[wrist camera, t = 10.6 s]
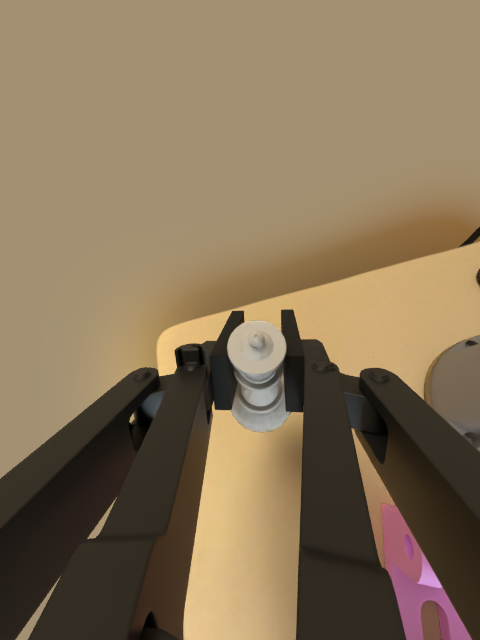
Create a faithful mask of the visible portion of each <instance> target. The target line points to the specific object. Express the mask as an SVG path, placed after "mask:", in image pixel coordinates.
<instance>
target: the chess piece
mask: <svg viewBox="0 0 480 640" xmlns="http://www.w3.org/2000/svg"><path fill="white" fill-rule="evenodd" d="M227 350H228V356H229V359H230V361H231V363H232V364H233V370H234V375H235V377H236V379H237V381H238V385H237V389H236V393H235V397H234V401H233V406H232V410H231V412H232V415H233V416H234V417H235V419H236V420H237V421H238V423H240V424H241V425H242V426H243V427H245V428H247V429H249V430H251V431H255V432H267V431H272V430H274V429H276V428H278V427H280V426H281V425H282V424H283V423H284V422H285V421H286V420H287V418H288V416H289V415H290V413H291V412H286V408H285V392H284V377H283V361H284V358H285V355H286V341H285V338H284V336H283V334H282V332H281V331H280V330H279V329H278V328H277V327H276V326H275V325H273V324H271V323H269V322H266V321H263V320H252V321H247V322H245V323H243V324H241V325H239V326H238V327H237V328H235V330H234V331H233V332H232V333H231V335H230V338H229V340H228V345H227Z"/></svg>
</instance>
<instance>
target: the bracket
mask: <svg viewBox="0 0 480 640" xmlns="http://www.w3.org/2000/svg"><path fill="white" fill-rule="evenodd" d="M381 505H382V520H383V536H384V552H385V568H386V570H387V571H388V573H389V575H390V577H391V580H392V583H393V587H394V590H395V594H396V597H397V602H398V606H399V610H400V614H401V618H402V623H403V627H404V631H405V635H406V640H423V630H422V620H421V607H422V605H423V603H424V602H426V601H429V600H431V601H435V603H436V605H437V608H438V614H439V622H440V630H441V638H442V640H472V639H471V637H470V635H469V633H468V632H467V630H466V628H465V626H464V625H463V623H462V621H461V619H460V617H459V616H458V614H457V612H456V610H455V609H454V607H453V605H452V603H451V602H450V600H449V598H448V596H447V594H446V593H445V591H444V589H443V587H442V586H441V584H440V582H439V580H438V579H437V577H436V575H435V573H434V572H433V570H432V568H431V566H430V564H429V563H428V561H427V559H426V557H425V556H424V554H423V552H422V550H421V549H420V547H419V545H418V543H417V542H416V540H415V538H414V536H413V534H412V533H411V531H410V529H409V527H408V526H407V524H406V522H405V520H404V519H403V517H402V515H401V513H400V511H399V510H398V508H397V506H393V505H388V504H383V503H381Z"/></svg>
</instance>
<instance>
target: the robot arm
mask: <svg viewBox="0 0 480 640" xmlns="http://www.w3.org/2000/svg"><path fill="white" fill-rule="evenodd" d="M479 237H480V227H479V228H478V229H477V230H476V231H475V232H474V233H473V234H472V235H471V236H470V237H469V238H468V239H467V240H466V241H465V242H464V243H462V244H461V245H460V246H459V247H458V248H460V247H464V246H467V245H470V244H472V243H473V242H474V241H476V240H477V239H478V238H479ZM477 277H478V280H479V281H480V269H479V271H478V273H477ZM243 323H244V311H232V313H231V315H230V317H229V318H228V320H227V322H226V324H225V326H224V328H223V330H222V332H221V334H220V336H219V338H218V340H217V341H206V342H204V343H203V344H186V345H183V346H180V347H178V348H177V349H176V350H175V357H176V363H177V369H176V371H175V373H174V374H171V375H166V376H159V373H158V370H157V369H155V368H147V367H145V368H140V369H138V370H136V371H133V372H131V373H130V374H128V375H127V376H126V377H125V378H123V379H122V380H121V381H120V382H119V383H117V384H116V385H115V386H114V387H112V388H111V389H110V390H109V391H107V392H106V393H105V394H104V395H103V396H101V397H100V398H99V399H98V400H96V401H95V402H94V403H93V404H92V405H90V406H89V407H88V408H87V409H85V410H84V411H83V412H82V413H81V414H80V415H78V416H77V417H76V418H74V419H73V420H72V421H71V422H69V423H68V424H67V425H66V426H65V427H63V428H62V429H61V430H60V431H59V432H57V433H56V434H55V435H54V436H52V437H51V438H50V439H49V440H47V441H46V442H45V443H44V444H42V445H41V446H40V447H39V448H38V449H36V450H35V451H34V452H33V453H31V454H30V455H29V456H28V457H27V458H25V459H24V460H23V461H22V462H20V463H19V464H18V465H17V466H15V467H14V468H13V469H12V470H11V471H9V472H8V473H7V474H6V475H4V476H3V477H2V478H1V479H0V640H15V639H16V638H17V637H18V635H19V634H20V632H21V631H22V629H23V628H24V627H25V625H26V624H27V622H28V621H29V620H30V618H31V617H32V615H33V614H34V612H35V611H36V610H37V608H38V607H39V606H40V604H41V603H42V601H43V600H44V599H45V597H46V596H47V594H48V593H49V591H50V590H51V589H52V587H53V586H54V584H55V583H56V582H57V580H58V579H59V577H60V576H61V577H60V579H59V581H58V583H57V585H56V587H55V589H54V591H53V593H52V595H51V596H50V598H49V600H48V602H47V604H46V607H45V608H44V610H43V612H42V614H41V616H40V618H39V619H38V621H37V623H36V625H35V627H34V629H33V631H32V633H31V635H30V637H29V639H28V640H183V619H184V608H185V601H186V594H187V587H188V580H189V573H190V567H191V560H192V553H193V546H194V539H195V533H196V526H197V519H198V512H199V505H200V499H201V492H202V485H203V478H204V472H205V465H206V458H207V451H208V444H209V438H210V431H211V424H212V417H213V414H212V404H213V401H214V404H215V410H232V406H233V401H234V397H235V393H236V389H237V385H238V381H237V379H236V377H235V375H234V370H233V364H232V363H231V361H230V359H229V356H228V350H227V345H228V340H229V338H230V335H231V333H232V332H233V331H234V330H235V328H237V327H238V326H239V325H241V324H243ZM281 332H282V334H283V336H284V338H285V341H286V355H285V358H284V361H283V377H284V392H285V408H286V412H303V406H304V415H303V447H302V480H301V512H300V544H299V567H298V598H297V629H296V640H406V635H405V631H404V627H403V623H402V618H401V614H400V610H399V606H398V602H397V597H396V594H395V590H394V587H393V583H392V580H391V577H390V575H389V573H388V571H387V570H386V569H384V568H382V566H381V564H380V561H379V558H378V554H377V549H376V544H375V539H374V535H373V530H372V525H371V520H370V516H369V511H368V506H367V501H366V496H365V492H364V487H363V482H362V477H361V473H360V468H359V463H358V458H357V454H356V449H355V444H354V439H353V435H352V430H351V428H353V429H355V433H356V436H357V437H358V439H359V441H360V443H361V444H362V446H363V448H364V450H365V451H366V453H367V455H368V457H369V459H370V460H371V462H372V464H373V466H374V467H375V469H376V471H377V473H378V474H379V476H380V478H381V480H382V481H383V483H384V485H385V487H386V489H387V490H388V492H389V494H390V496H391V497H392V499H393V501H394V503H395V504H396V506H397V508H398V510H399V511H400V513H401V515H402V517H403V519H404V520H405V522H406V524H407V526H408V527H409V529H410V531H411V533H412V534H413V536H414V538H415V540H416V542H417V543H418V545H419V547H420V549H421V550H422V552H423V554H424V556H425V557H426V559H427V561H428V563H429V564H430V566H431V568H432V570H433V572H434V573H435V575H436V577H437V579H438V580H439V582H440V584H441V586H442V587H443V589H444V591H445V593H446V594H447V596H448V598H449V600H450V602H451V603H452V605H453V607H454V609H455V610H456V612H457V614H458V616H459V617H460V619H461V621H462V623H463V625H464V626H465V628H466V630H467V632H468V633H469V635H470V637H471V639H472V640H480V335H479V336H475V337H472V338H469V339H466V340H463V341H461V342H458V343H456V344H455V345H453V346H451V347H449V348H448V349H446V350H445V351H443V352H442V353H441V354H440V355H439V356H438V357H436V359H435V360H434V361H433V362H432V364H431V366H430V368H429V370H428V372H427V375H426V379H425V385H424V398H425V401H424V400H423V399H422V398H421V397H420V396H419V395H417V394H416V393H415V392H414V391H413V390H412V389H411V388H410V387H409V386H408V385H407V384H405V383H404V382H403V381H402V380H401V379H400V378H399V377H398V376H397V375H395V374H394V373H392V372H390V371H387V370H385V369H380V368H368V369H364V370H362V371H361V373H360V377H354V376H349V375H345V374H342V373H340V372H339V368H338V367H337V365H335V364H334V363H332V362H330V360H329V358H328V355H327V353H326V351H325V349H324V346H323V344H322V343H321V342H320V341H318V340H317V339H313V340H301V339H300V335H299V331H298V327H297V323H296V319H295V315H294V311H293V310H281ZM133 413H134V418H135V419H134V421H133V422H132V423H130V422H129V420H130V417H131V415H132V414H133ZM116 497H117V499H116ZM115 499H116V501H115V503H114V505H113V507H112V509H111V511H110V513H109V516H108V518H107V520H106V522H105V524H104V526H103V528H102V530H101V532H100V534H99V535H98V536H97V537H96V538H93V539H87V538H88V537H89V535H90V534H91V532H92V531H93V530H94V528H95V527H96V525H97V524H98V522H99V521H100V520H101V518H102V517H103V515H104V514H105V513H106V511H107V510H108V508H109V507H110V506H111V504H112V503H113V501H114V500H115Z"/></svg>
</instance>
